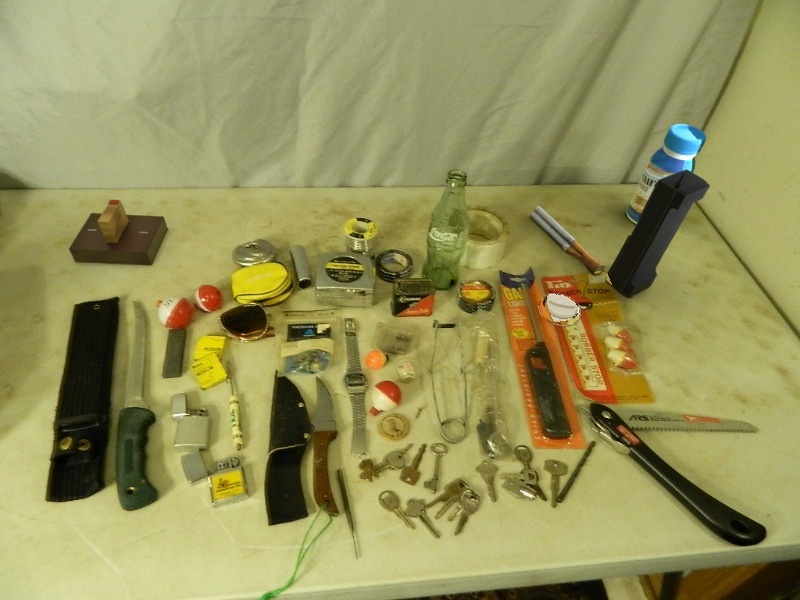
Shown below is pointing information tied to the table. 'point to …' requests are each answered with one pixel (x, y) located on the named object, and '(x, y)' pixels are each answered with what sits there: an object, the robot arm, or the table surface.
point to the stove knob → (561, 308)
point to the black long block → (655, 231)
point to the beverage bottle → (667, 163)
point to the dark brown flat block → (120, 241)
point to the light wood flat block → (113, 221)
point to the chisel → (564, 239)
